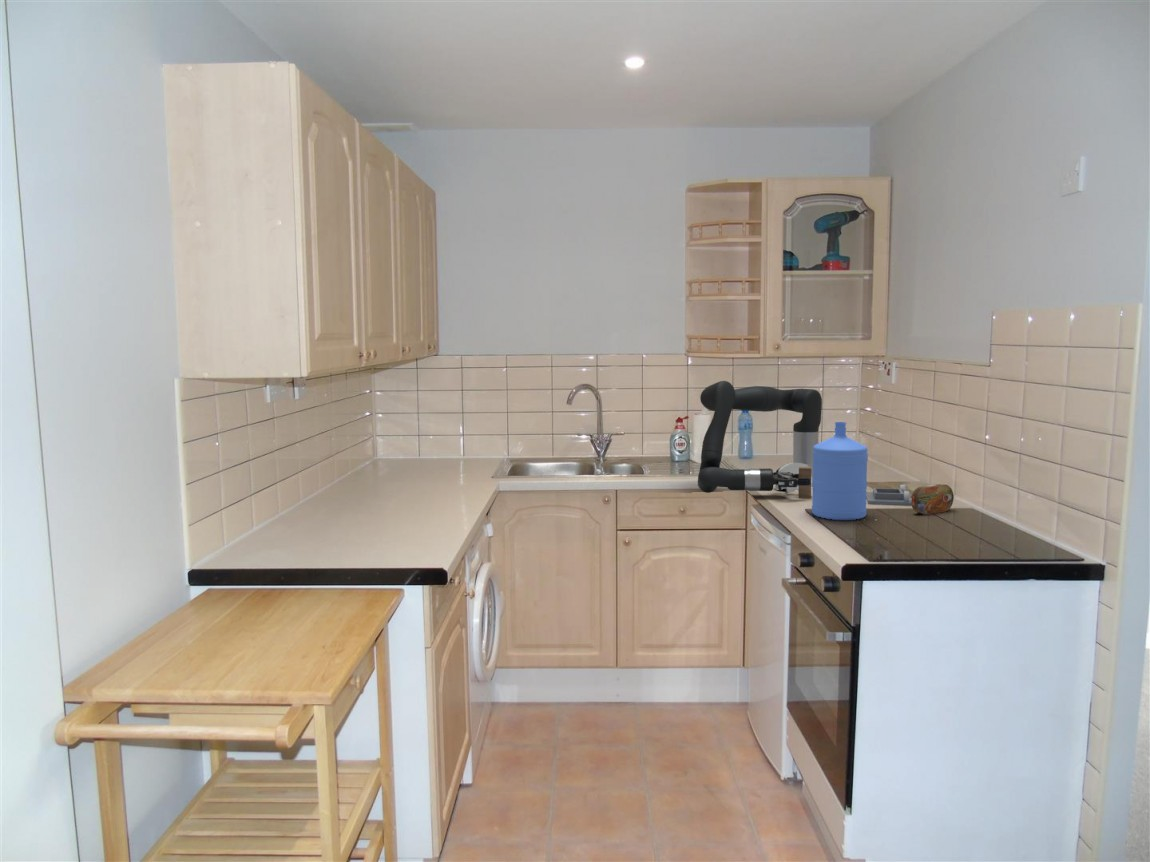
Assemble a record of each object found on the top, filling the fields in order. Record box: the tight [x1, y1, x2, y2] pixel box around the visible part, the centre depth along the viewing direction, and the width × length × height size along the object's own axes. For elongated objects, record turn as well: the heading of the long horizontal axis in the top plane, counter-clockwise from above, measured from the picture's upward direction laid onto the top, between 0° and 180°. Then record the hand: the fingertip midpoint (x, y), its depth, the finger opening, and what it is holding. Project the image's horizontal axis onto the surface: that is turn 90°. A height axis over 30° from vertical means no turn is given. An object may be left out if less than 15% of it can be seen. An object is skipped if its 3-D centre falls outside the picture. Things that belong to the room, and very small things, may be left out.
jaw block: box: [798, 467, 812, 499], centre depth 268 cm, size 4×4×10 cm
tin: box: [910, 483, 955, 516], centre depth 243 cm, size 15×3×8 cm, turn 114°
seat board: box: [866, 484, 912, 507], centre depth 261 cm, size 15×13×4 cm
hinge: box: [773, 462, 813, 493], centre depth 284 cm, size 17×5×10 cm, turn 126°
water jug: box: [811, 421, 869, 521], centre depth 240 cm, size 16×16×28 cm
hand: (807, 479), depth 268 cm, fingers open, 8 cm apart
